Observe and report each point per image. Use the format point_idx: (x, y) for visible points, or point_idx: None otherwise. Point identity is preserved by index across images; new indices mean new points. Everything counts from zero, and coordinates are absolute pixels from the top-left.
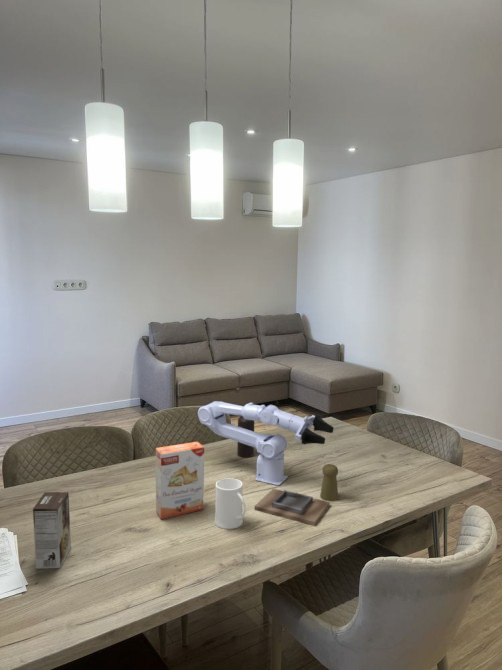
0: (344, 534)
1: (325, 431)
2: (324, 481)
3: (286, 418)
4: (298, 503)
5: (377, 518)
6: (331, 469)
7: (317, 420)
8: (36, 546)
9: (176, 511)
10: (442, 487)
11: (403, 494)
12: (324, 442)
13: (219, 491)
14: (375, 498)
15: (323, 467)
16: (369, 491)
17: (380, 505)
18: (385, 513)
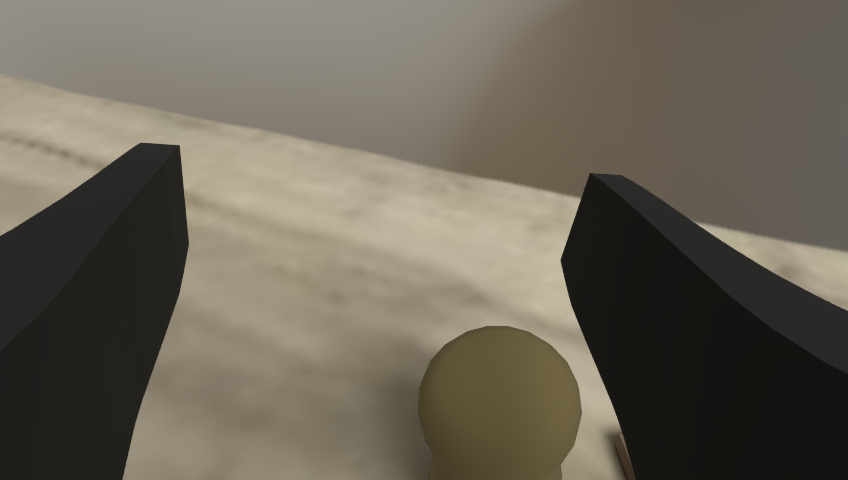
0: (805, 252)
1: (151, 364)
2: (556, 475)
3: None
4: None
5: (536, 210)
6: (549, 348)
7: (8, 405)
8: None
9: None
10: (54, 132)
11: (206, 211)
12: (573, 245)
13: None
14: (329, 285)
15: (550, 443)
16: (253, 340)
17: (395, 242)
18: (462, 203)
